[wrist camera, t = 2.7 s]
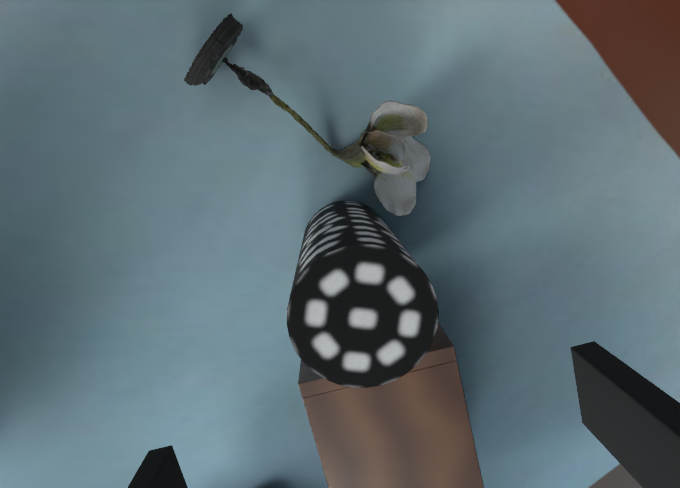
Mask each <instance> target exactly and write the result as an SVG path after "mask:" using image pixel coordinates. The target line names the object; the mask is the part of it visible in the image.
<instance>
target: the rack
mask: <svg viewBox="0 0 680 488" xmlns="http://www.w3.org/2000/svg"><path fill="white" fill-rule="evenodd" d="M298 385H299V389H300V392H301V395H302V398H303V402H304V405H305V409H306V412H307V416H308V419H309V422H310V426H311V429H312V433H313V436H314V439H315V443H316V446H317V450H318V453H319V456H320V460H321V463H322V467H323V470H324V473H325V477H326V480H327V484H328V487H329V488H484V486H483V481H482V477H481V472H480V467H479V462H478V458H477V453H476V448H475V444H474V439H473V434H472V429H471V425H470V420H469V415H468V410H467V406H466V401H465V396H464V391H463V387H462V382H461V377H460V373H459V368H458V363H457V358H456V353H455V349H454V345H453V344H452V342H451V341H450V339H449V338H448V336H447V335H446V333H445V332H444V330H443V328H442V327H441V325H440V324H439V322H438V327H437V330H436V334H435V337H434V341H433V342H432V344H431V346H430V348H429V350H428V352H427V354H426V355H425V356H424V357H423V359H422V360H421V361H420V362H419V364H418V365H416V366H415V367H414V368H413V369H412V370H411V371H409V372H408V373H407V374H405V375H404V376H402V377H400V378H398V379H397V380H395V381H392V382H389V383H387V384H384V385H381V386H375V387H369V388H352V387H347V386H342V385H338V384H335V383H333V382H330V381H328V380H325V379H324V378H322V377H321V376H319V375H317V374H316V373H314V372H313V371H312V370H311V369H310V368H309V367H308V366H307V365H306V364H305V363H304V362H303V361H302V360H301V365H300V374H299V382H298Z"/></svg>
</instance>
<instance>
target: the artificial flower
mask: <svg viewBox="0 0 680 488" xmlns="http://www.w3.org/2000/svg"><path fill="white" fill-rule="evenodd" d="M242 29H243V25H242V24H240V23H239V22H238V21H237V20H236V19H235V18H234V17H233V16H232V14H230V15H228V17H226V18H224V19H223V21H222V22H221V23H220V24H219V25H218V27H217V28H216V29H215V30H214V31H213V33H212V34H211V36H210V37H209V39H208V40H207V41H206V42H205V44H204V45H203V47H202V48H201V50H200V51H199V54H197V56H196V58H195V60H194V62H193V63H192V66H191V67H190V68H189V72H187V75H186V78H184V81H185V82H187V84H189V85H199V84H201V83H203V84H204V85H205V84H206V83H207V82H208V81H210V79H211V78H212V77H213V76H214V74H215V72H216V70H217V69H218V68H219V67H220V65H221V63H223V62H225V63H226V64H227V65H228V66H229V67H230V69H231V70H232V71H234V72H235V73H236V74H237V76H238V78H239V80H240V81H241V82H242V84H243V85H245V86H247V87H248V88H250V89H251V90H257V89H258V90H259V91H261V92H263V93H265V94H266V95H268V96H269V97H270V98H271V99H272V100H273V102H274V103H275V104H276V105H278V106H279V107H281V108H282V109H283V110H285V111H287V112H289V113H290V114H291V115H292V116H293V117H294V119H295V120H296V121H297V122H299V123H300V124H301V125H303V126H304V127H305V129H306V130H307V131H308V132H309V133H311V134H312V135H313V136H314V137H315V138H316V140H317V141H318V142H320V143H321V144H322V145H323V146H324V147H325V149H326V150H327V151H329V152H330V153H331V154H332V155H333V156H336V157H338V158H339V159H341V160H343V161H345V162H346V163H348V164H350V165H351V166H353V167H361V166H363V167H365V168H366V169H367V170H368V171H369V172H371V173H372V174H373V175H374V176H375V177H376V180H375V183H374V190H375V192H376V195H377V197H378V199H379V201H380V202H381V203H382V205H383V206H384V209H386V210H387V211H389V212H391V213H393V214H394V215H396V216H403V215H408V214H409V213H410V212H411V211H412V210H413V208H414V207H415V204H416V182H419V181H421V180H424V179H425V177H426V174H427V173H428V172H427V171H429V169H430V165H429V164H430V160H431V155H430V153H429V151H428V149H427V148H426V147H425V146H424V145H423V144H421V143H420V142H418V141H416V140H414V139H413V137H412V136H415V135H419V134H422V133H424V132H425V131H426V130H427V127H428V120H427V116H426V113H425V112H424V111H423V110H422V109H420V108H418V107H416V106H413V105H407V104H401V103H399V102H396V101H386V102H383V103H382V104H381V105H380V106H379V107H378V108H377V109H376V110H375V111H374V113H373V114H372V115H371V119H370V122H369V124H368V126H367V129H366V130H364V132H363V133H362V134H361V136H360V138H359V139H358V140H357V141H356V143H355V144H352V145H351V146H349V147H347V148H345V149H343V150H340V151H338V150H335V149H333V148H332V147H330V146H329V145H328V144H327V143H326V142H325V141H324V140H323V139H322V138H321V137H320V136H319V135H318V134H317V133H316V132H315V131H313V130H312V127H311V126H310V125H309V124H308V123H307V122H305V121H304V120H303V119H302V118H301V117H300V116H299V115H298V114H297V113H296V112H295V111H294V110H292V109H291V108H290V107H289V106H288V105H287V104H285V103H284V102H283V101H281V100H280V99H279V98H277V97H276V96H275V95H274V94H273V92H272V90H271V89H270V87H269V85H268V84H266V83H265V81H264V80H263V79H261V78H260V77H258V76H257V75H255V74H253V73H251V72H250V71H245V70H244V68H243V67H238V66H237V65H236V64H233V65H232V64H230V63H229V62H228V59H227V58H226V56H227V55H228V54H229V52H230V50H231V48H232V46H234V44H235V42H236V40H237V38H238V36H239V35H240V34H241V31H242ZM250 92H251V91H250Z"/></svg>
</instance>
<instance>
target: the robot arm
mask: <svg viewBox="0 0 680 488" xmlns="http://www.w3.org/2000/svg"><path fill="white" fill-rule="evenodd" d="M571 353H572V359H573V366H574V372H575V378H576V385H577V391H578V397H579V404H580V410H581V416H582V423H583V424H584V425H585V426H586V427H587V428H588V429H589V430H590V431H591V433H592V434H593V435H594V436H595V437H596V438H597V439H598V440H599V441H600V442H601V443H602V444H603V445H604V446H605V448H606V449H607V450H608V451H609V452H610V453H611V454H612V455H613V456H614V457H615V458H616V459H617V460H618V461H619V463H620V464H621V465H622V466H623V467H624V468H625V469H626V470H627V471H628V472H629V473H630V474H631V475H632V477H633V478H634V479H636V481H637V482H638V483H639V484H640V485H641V486H642V487H643V488H680V403H679V402H678V401H676V400H675V399H673V398H672V397H671V396H669V395H668V394H666V393H665V392H664V391H662V390H661V389H660V388H658V387H657V386H655V385H654V384H653V383H651V382H650V381H648V380H647V379H646V378H644V377H643V376H642V375H640V374H639V373H637V372H636V371H635V370H633V369H632V368H630V367H629V366H628V365H626V364H625V363H624V362H622V361H621V360H619V359H618V358H617V357H615V356H614V355H612V354H611V353H610V352H608V351H607V350H606V349H604V348H603V347H601V346H600V345H599V344H597V343H596V342H590V343H586V344H582V345H578V346H574V347H571ZM128 488H187V485H186V482H185V479H184V477H183V474H182V471H181V469H180V466H179V463H178V461H177V458H176V455H175V453H174V450H173V447H172V445H171V446H167V447H163V448H159V449H155V450H151V451H149V452H148V454H147V455H146V457H145V459H144V460H143V462H142V464H141V466H140V467H139V469H138V471H137V472H136V474H135V476H134V478H133V479H132V481H131V483H130V484H129V486H128Z"/></svg>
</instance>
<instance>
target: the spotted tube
mask: <svg viewBox="0 0 680 488" xmlns="http://www.w3.org/2000/svg"><path fill="white" fill-rule="evenodd" d="M438 315H439V311H438V304H437V298H436V295H435V292H434V289H433V286H432V284H431V283H430V281H429V279H428V278H427V276H426V274H425V273H424V271H423V270H422V269H421V268H420V266H419V265H418V264H417V263H416V261H415V260H414V259H413V258H412V256H411V255H410V254H409V253H408V251H407V250H406V249H405V248H404V246H403V245H402V244H401V243H400V241H399V240H398V239H397V237H396V236H395V235H394V234H393V232H392V231H391V230H390V229H389V227H388V226H387V225H386V224H385V222H384V221H383V220H382V219H381V217H380V216H379V215H378V214H377V213H376V212H375V211H374V210H372V209H371V208H369V207H368V206H366V205H364V204H361V203H358V202H354V201H340V202H335V203H332V204H329V205H327V206H325V207H324V208H322V209H320V210H319V211H318V212H317V213H316V214H315V215H314V216H313V217H312V219H311V220H310V222H309V223H308V225H307V228H306V230H305V234H304V238H303V243H302V247H301V251H300V256H299V260H298V264H297V269H296V273H295V277H294V282H293V286H292V290H291V294H290V299H289V304H288V308H287V327H288V332H289V337H290V340H291V342H292V344H293V347H294V349H295V351H296V352H297V354H298V355H299V357H300V358H301V360H302V361H303V362H304V363H305V364H306V365H307V366H308V367H309V368H310V369H311V370H312V371H313V372H314V373H316V374H317V375H319V376H321V377H322V378H324V379H325V380H328V381H330V382H333V383H335V384H338V385H342V386H347V387H352V388H369V387H375V386H381V385H384V384H387V383H389V382H392V381H395V380H397V379H398V378H400V377H402V376H404V375H405V374H407V373H408V372H409V371H411V370H412V369H413V368H414V367H415V366H416V365H418V364H419V362H420V361H421V360H422V359H423V357H424V356H425V355H426V354H427V352H428V350H429V348H430V346H431V344H432V342H433V341H434V337H435V334H436V330H437V327H438Z"/></svg>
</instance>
